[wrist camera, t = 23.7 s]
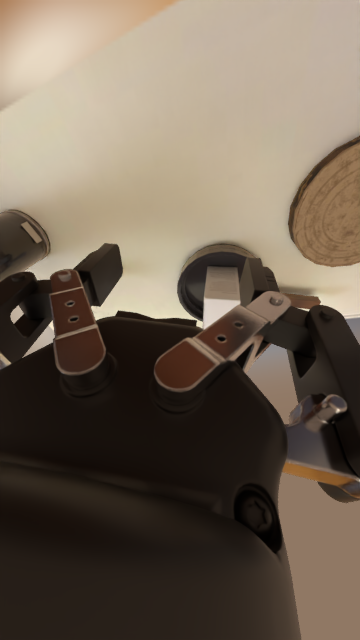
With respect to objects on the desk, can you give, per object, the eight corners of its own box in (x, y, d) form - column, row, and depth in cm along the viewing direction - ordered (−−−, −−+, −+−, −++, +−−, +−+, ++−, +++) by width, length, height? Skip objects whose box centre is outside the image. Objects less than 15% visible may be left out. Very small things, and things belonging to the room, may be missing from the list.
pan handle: (258, 299, 39) (259, 304, 38) (262, 289, 38) (263, 294, 37) (312, 305, 39) (315, 311, 37) (318, 295, 37) (322, 300, 36)
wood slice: (312, 133, 25) (320, 134, 23) (464, 127, 23) (490, 126, 21) (275, 256, 36) (279, 264, 34) (377, 260, 34) (388, 268, 31)
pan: (179, 309, 47) (176, 319, 45) (181, 239, 36) (178, 247, 34) (250, 318, 46) (252, 329, 43) (275, 247, 35) (280, 256, 32)
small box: (232, 301, 43) (234, 338, 35) (205, 299, 44) (201, 335, 36) (238, 266, 37) (242, 300, 30) (207, 264, 38) (203, 298, 31)
